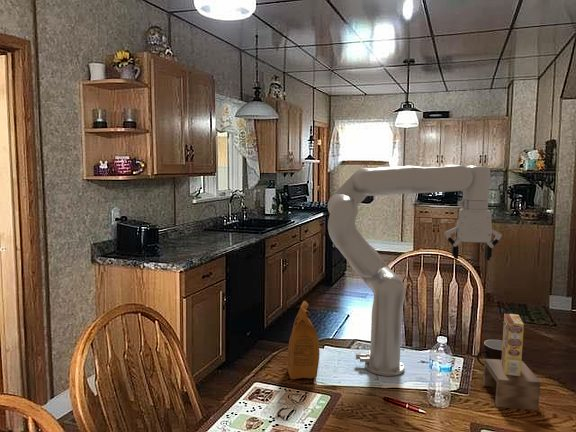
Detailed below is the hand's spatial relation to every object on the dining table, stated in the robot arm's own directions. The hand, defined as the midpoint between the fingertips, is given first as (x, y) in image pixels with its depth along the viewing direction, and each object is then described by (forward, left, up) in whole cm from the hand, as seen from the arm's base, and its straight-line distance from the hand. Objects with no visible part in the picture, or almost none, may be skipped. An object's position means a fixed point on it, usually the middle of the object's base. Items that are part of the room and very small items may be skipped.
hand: (471, 258), depth 160 cm
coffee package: (-52, -11, -36) cm, 64 cm away
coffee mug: (+8, -4, -36) cm, 37 cm away
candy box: (+8, -18, -28) cm, 35 cm away
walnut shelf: (+8, -18, -36) cm, 41 cm away
